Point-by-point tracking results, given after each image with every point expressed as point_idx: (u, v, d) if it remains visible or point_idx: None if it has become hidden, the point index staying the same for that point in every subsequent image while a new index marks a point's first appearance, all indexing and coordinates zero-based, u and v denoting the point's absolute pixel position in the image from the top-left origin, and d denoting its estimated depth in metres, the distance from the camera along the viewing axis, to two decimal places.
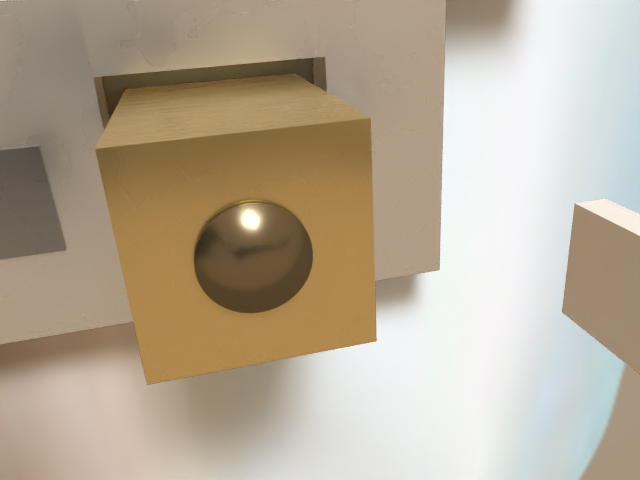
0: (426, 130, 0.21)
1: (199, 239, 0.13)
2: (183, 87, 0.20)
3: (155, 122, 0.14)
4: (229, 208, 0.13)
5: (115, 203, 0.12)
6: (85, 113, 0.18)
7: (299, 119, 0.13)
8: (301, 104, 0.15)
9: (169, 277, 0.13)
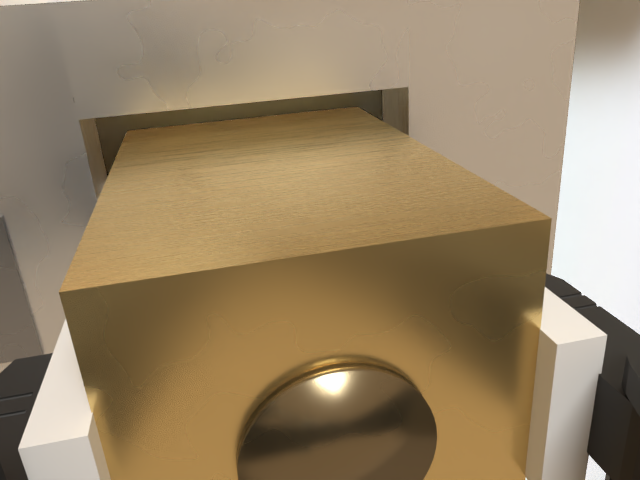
0: (538, 185, 0.15)
1: (247, 432, 0.07)
2: (208, 129, 0.14)
3: (170, 212, 0.08)
4: (300, 377, 0.07)
5: (98, 381, 0.07)
6: (68, 170, 0.13)
7: (420, 216, 0.08)
8: (402, 174, 0.10)
9: None
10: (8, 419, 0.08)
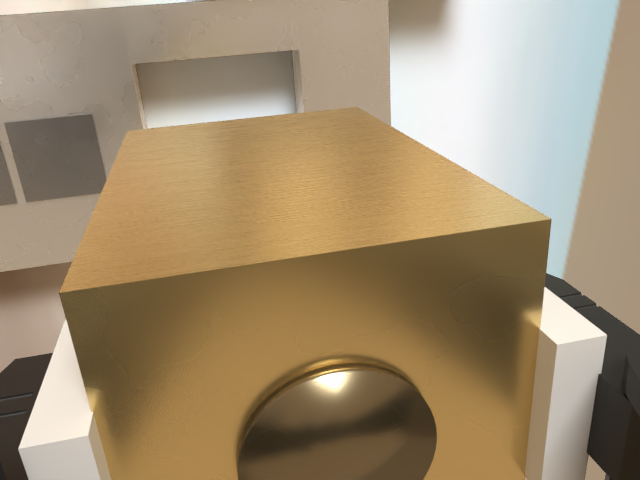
0: (377, 105, 0.28)
1: (246, 433, 0.07)
2: (208, 130, 0.14)
3: (171, 213, 0.08)
4: (300, 377, 0.07)
5: (98, 382, 0.07)
6: (125, 90, 0.25)
7: (420, 217, 0.08)
8: (402, 175, 0.10)
9: None
10: (8, 419, 0.08)
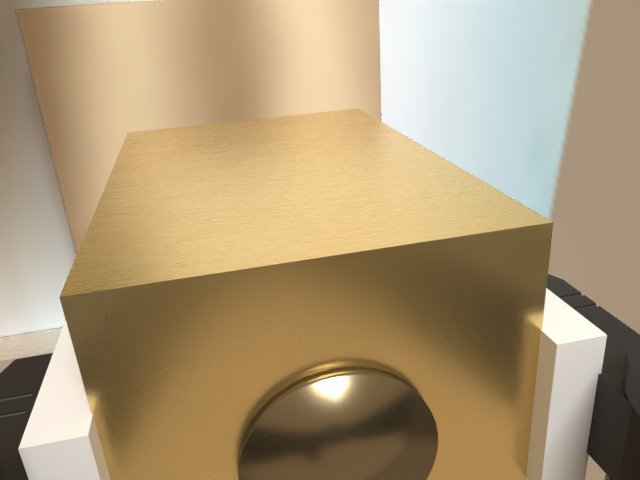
0: None
1: (248, 437, 0.07)
2: (208, 131, 0.14)
3: (171, 216, 0.08)
4: (301, 380, 0.07)
5: (99, 386, 0.07)
6: None
7: (421, 220, 0.08)
8: (403, 177, 0.10)
9: None
10: (8, 419, 0.08)
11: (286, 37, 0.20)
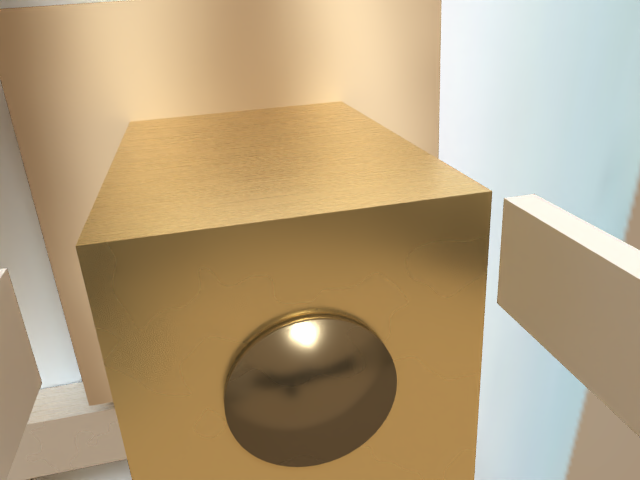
0: None
1: (232, 371, 0.09)
2: (203, 121, 0.15)
3: (169, 187, 0.10)
4: (278, 325, 0.09)
5: (107, 324, 0.08)
6: None
7: (382, 190, 0.09)
8: (372, 158, 0.11)
9: (187, 422, 0.09)
10: None
11: (326, 45, 0.16)
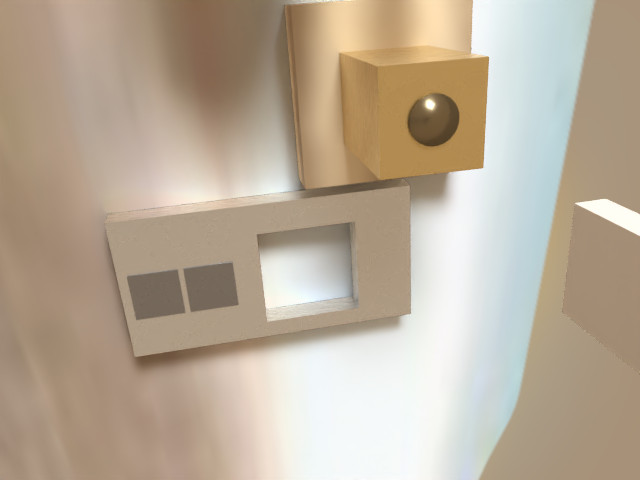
0: (402, 250, 0.45)
1: (412, 108, 0.30)
2: (372, 51, 0.37)
3: (387, 60, 0.31)
4: (426, 95, 0.30)
5: (381, 90, 0.30)
6: (252, 248, 0.42)
7: (456, 57, 0.30)
8: (450, 54, 0.32)
9: (397, 127, 0.30)
10: None
11: (422, 20, 0.37)
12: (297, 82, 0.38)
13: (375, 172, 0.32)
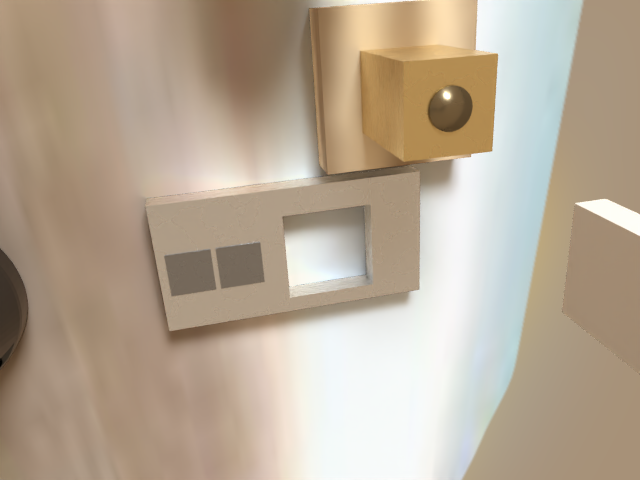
0: (412, 230, 0.49)
1: (432, 99, 0.35)
2: (390, 49, 0.41)
3: (409, 57, 0.36)
4: (444, 87, 0.35)
5: (406, 83, 0.34)
6: (278, 229, 0.47)
7: (469, 54, 0.35)
8: (462, 51, 0.37)
9: (419, 114, 0.35)
10: None
11: (433, 22, 0.42)
12: (322, 77, 0.42)
13: (398, 155, 0.37)
